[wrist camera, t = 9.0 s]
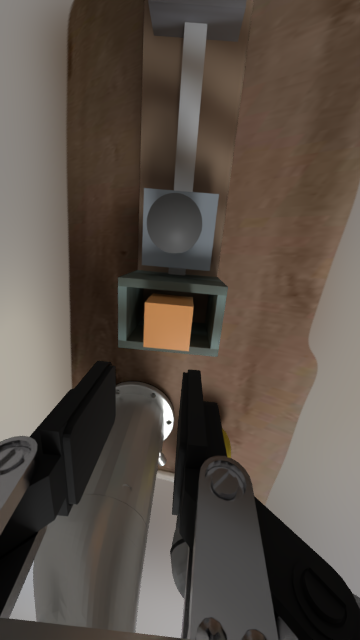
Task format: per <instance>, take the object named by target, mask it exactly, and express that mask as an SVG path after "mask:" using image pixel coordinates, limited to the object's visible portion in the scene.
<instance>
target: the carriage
mask: <svg viewBox="0 0 360 640" xmlns="http://www.w3.org/2000/svg"><path fill="white" fill-rule="evenodd" d="M218 198H219V194H210V193H198V192H186V191H174V190H162V189H150V188H144V206H143V240H142V265H147V266H158V267H170V268H181V269H192V270H204V271H210V264H211V256H212V248H213V239H214V231H215V223H216V215H217V207H218Z"/></svg>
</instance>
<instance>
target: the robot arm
mask: <svg viewBox="0 0 360 640" xmlns="http://www.w3.org/2000/svg"><path fill="white" fill-rule="evenodd" d="M173 425H174V410H173V407H172V404H171V402H170V401H169V399H168V398H167V397H166V395H165V394H164V393H162V392H161V391H160V390H159V389H157V388H155V387H153V386H152V385H149V384H146V383H142V382H123V383H120V384H117V385H116V374H115V366H112V364H111V362H104V361H97V362H96V363H95V364H94V366H93V367H92V368H91V369H90V370H89V372H88V373H87V374H86V375H85V376H84V378H83V379H82V380H81V381H80V382H79V384H78V385H77V386H76V387H75V388H74V389H71V390H70V391H69V392H68V393H67V394H66V395H65V396H64V397H63V399H62V400H61V401H60V402H59V403H58V404H57V406H56V407H55V408H54V409H53V410H52V411H51V412H50V414H49V415H48V416H47V417H46V418H45V419H44V421H43V422H42V423H41V424H40V426H38V428H37V429H36V430H35V431H34V432H33V433H32V435H31V436H30V437H26V436H18V437H12V438H9V439H6V440H3V441H1V442H0V640H360V598H359V597H357V596H356V595H354V594H352V592H351V590H350V589H349V588H348V586H347V585H346V583H345V582H344V580H343V579H342V578H341V576H340V575H339V574H338V573H337V572H336V571H335V570H334V569H333V568H332V567H331V566H330V565H329V564H328V563H327V562H326V561H325V560H324V559H322V558H321V557H320V556H319V555H318V554H317V553H316V552H315V551H313V549H312V548H310V547H309V546H308V545H307V544H306V543H305V542H304V541H303V540H302V539H301V538H299V537H298V536H297V535H296V534H295V533H294V532H293V531H292V530H291V529H290V528H289V527H287V526H286V525H285V524H284V523H283V522H282V521H281V520H280V519H279V518H278V517H276V516H275V515H274V514H273V513H272V512H271V511H270V510H269V509H268V508H266V507H265V506H264V505H263V504H262V503H261V502H260V501H259V500H258V499H257V498H256V497H255V496H254V493H253V487H252V483H251V479H250V476H249V475H248V473H247V472H246V470H245V469H244V468H243V467H242V466H241V465H240V464H239V463H238V462H237V461H235V460H233V459H232V458H229V457H227V453H226V447H225V442H224V437H223V431H222V426H221V420H220V415H219V409H218V405H217V403H215V402H205V401H203V394H202V383H201V372H200V371H199V370H188V373H185V372H183V379H182V389H181V399H180V409H179V419H178V431H177V447H176V462H175V477H174V492H173V508H172V515H178V528H179V534H180V535H181V536H182V538H183V539H184V541H185V542H186V543H187V545H188V546H189V548H188V561H187V573H186V585H185V597H184V610H183V622H182V634H181V638H172V637H165V636H156V635H148V634H139V633H135V632H136V621H137V612H138V603H139V594H140V586H141V578H142V571H143V564H144V556H145V550H146V543H147V534H148V528H149V522H150V515H151V508H152V501H153V493H154V487H155V480H156V474H157V471H158V468H157V467H158V464H159V465H160V466H163V465H165V463H166V461H167V460H166V458H165V456H164V454H163V453H162V446H163V441H164V440H165V439H166V438H167V437H168V436H169V435H170V433H171V431H172V429H173ZM33 561H34V568H33V582H34V597H35V608H36V619H37V622H35V621H25V620H17V619H9V617H10V615H11V612H12V610H13V608H14V606H15V603H16V601H17V599H18V596H19V594H20V591H21V589H22V586H23V584H24V582H25V580H26V577H27V575H28V572H29V570H30V568H31V566H32V563H33Z"/></svg>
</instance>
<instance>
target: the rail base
mask: <svg viewBox="0 0 360 640" xmlns="http://www.w3.org/2000/svg"><path fill="white" fill-rule="evenodd" d="M253 4H254V0H144V31H143V73H142V114H141V156H140V198H139V240H138V270H136V271H134V272H131V273H128V274H125V275H123V276H120V277H118V347H119V348H130V349H140V350H151V351H162V352H172V353H183V354H194V355H204V356H215V357H217V356H218V350H219V343H220V336H221V330H222V323H223V316H224V310H225V303H226V296H227V289H228V287H227V286H226V285H225V284H224V283H223V282H222V281H221V280H220V279H219V278H218V277H217V274H218V267H219V259H220V252H221V244H222V237H223V229H224V222H225V214H226V207H227V199H228V192H229V184H230V177H231V169H232V161H233V154H234V146H235V139H236V131H237V124H238V116H239V109H240V101H241V94H242V86H243V79H244V71H245V64H246V56H247V49H248V41H249V34H250V26H251V19H252V11H253ZM144 188H150V189H162V190H174V191H186V192H198V193H210V194H219V198H218V207H217V215H216V223H215V231H214V239H213V248H212V256H211V264H210V271H204V270H192V269H181V268H170V267H158V266H147V265H142V240H143V206H144ZM153 293H154V294H165V295H176V296H187V297H193V306H194V307H193V317H192V326H191V336H190V345H189V351H181V350H170V349H160V348H149V347H143V341H144V313H145V302H146V301H147V299H148V298H149V297H150V296H151V295H152V294H153Z"/></svg>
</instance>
